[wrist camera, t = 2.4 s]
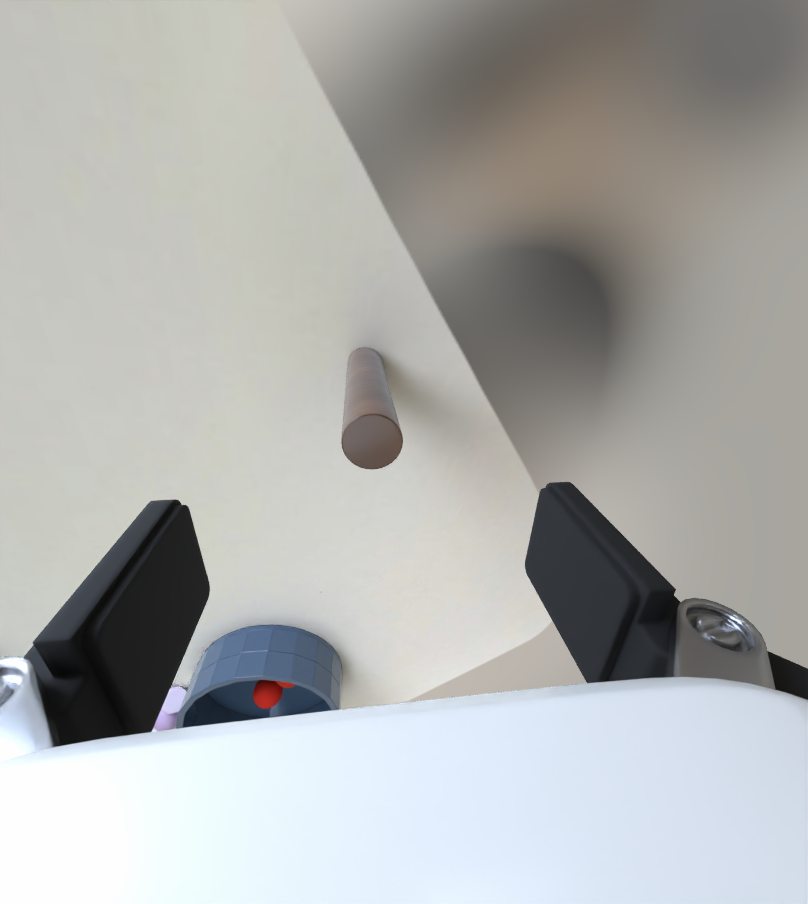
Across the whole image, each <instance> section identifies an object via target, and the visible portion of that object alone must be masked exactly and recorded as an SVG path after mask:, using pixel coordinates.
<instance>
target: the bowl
mask: <svg viewBox="0 0 808 904" xmlns="http://www.w3.org/2000/svg"><path fill="white" fill-rule="evenodd" d="M259 680H270V681H279V682H288V683H291V684H294V685H295V686H294V687H291V688H284V687H283V694H282V697H281V699H280V700H279V702H278V703H277V704H276V705H275V706H273V707H271V708H268V709H263V708H260V707H258V706H257V705H256V704H255V702H254V699H253V690H254V687H255V685H256V684H257V682H258V681H259ZM341 695H342V667H341V662H340V659H339V657H338V655H337V653H336V652H335V650H334V649H333V648H332V647H331V646H330V645H329V644H328V643H327V642H326V641H325V640H323V639H321V638H320V637H318V636H316V635H314V634H312V633H310V632H307V631H305V630H302V629H298V628H294V627H288V626H280V625H261V626H253V627H248V628H243V629H240V630H237V631H234V632H231V633H229V634H227V635H225V636H223V637H221V638H220V639H218V640H217V641H215V642H214V643H213V644H211V645H210V646H209V648H208V649H207V650H206V651H205V652H204V654H203V655H202V657H201V659H200V661H199V662H198V664H197V666H196V669H195V672H194V674H193V677H192V679H191V682H190V684H189V687H188V689H187V692H186V694H185V697H184V699H183V702H182V704H181V707H180V710H179V712H178V717H177V723H176V729H179V728H186V727H194V726H202V725H211V724H220V723H228V722H237V721H246V720H254V719H263V718H272V717H280V716H289V715H297V714H306V713H315V712H323V711H332V710H341Z"/></svg>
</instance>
